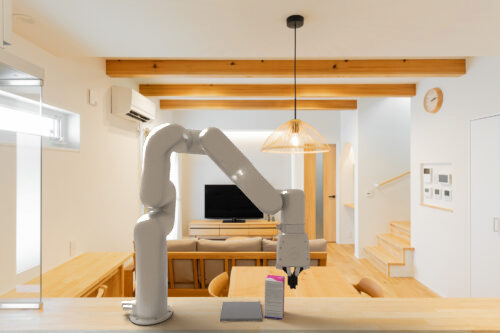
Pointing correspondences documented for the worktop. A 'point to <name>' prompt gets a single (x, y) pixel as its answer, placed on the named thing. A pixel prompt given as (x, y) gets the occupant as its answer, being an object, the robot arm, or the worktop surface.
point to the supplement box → (274, 297)
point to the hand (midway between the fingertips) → (292, 287)
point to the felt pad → (241, 311)
